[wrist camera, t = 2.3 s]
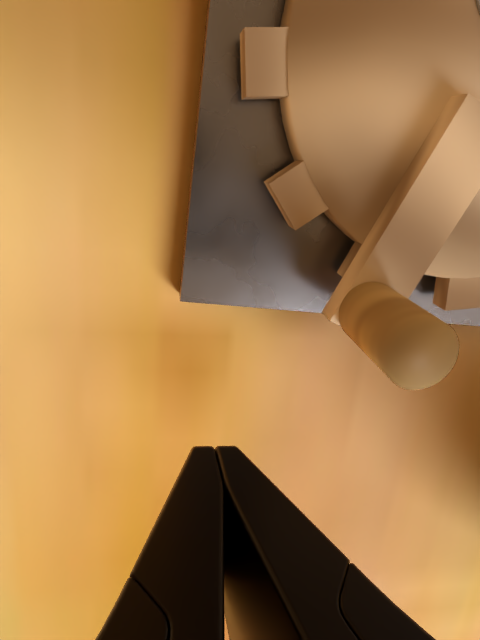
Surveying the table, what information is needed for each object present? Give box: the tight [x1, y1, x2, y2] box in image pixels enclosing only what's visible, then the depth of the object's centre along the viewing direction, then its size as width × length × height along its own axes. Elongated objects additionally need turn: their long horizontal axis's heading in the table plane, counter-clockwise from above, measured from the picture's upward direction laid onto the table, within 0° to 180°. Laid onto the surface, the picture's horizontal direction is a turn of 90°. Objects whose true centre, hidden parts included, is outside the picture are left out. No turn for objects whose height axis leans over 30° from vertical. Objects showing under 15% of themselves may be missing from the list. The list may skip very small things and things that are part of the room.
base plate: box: [180, 0, 480, 326], centre depth 18 cm, size 21×21×1 cm
